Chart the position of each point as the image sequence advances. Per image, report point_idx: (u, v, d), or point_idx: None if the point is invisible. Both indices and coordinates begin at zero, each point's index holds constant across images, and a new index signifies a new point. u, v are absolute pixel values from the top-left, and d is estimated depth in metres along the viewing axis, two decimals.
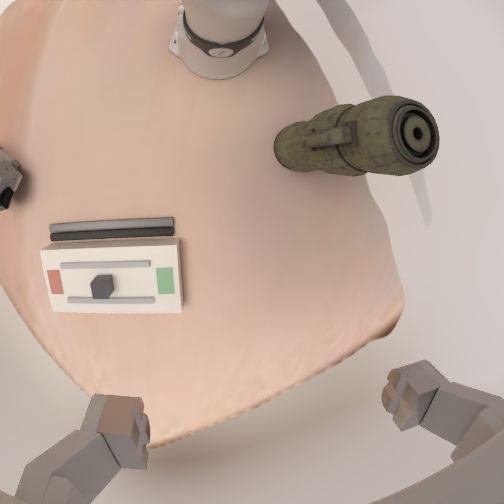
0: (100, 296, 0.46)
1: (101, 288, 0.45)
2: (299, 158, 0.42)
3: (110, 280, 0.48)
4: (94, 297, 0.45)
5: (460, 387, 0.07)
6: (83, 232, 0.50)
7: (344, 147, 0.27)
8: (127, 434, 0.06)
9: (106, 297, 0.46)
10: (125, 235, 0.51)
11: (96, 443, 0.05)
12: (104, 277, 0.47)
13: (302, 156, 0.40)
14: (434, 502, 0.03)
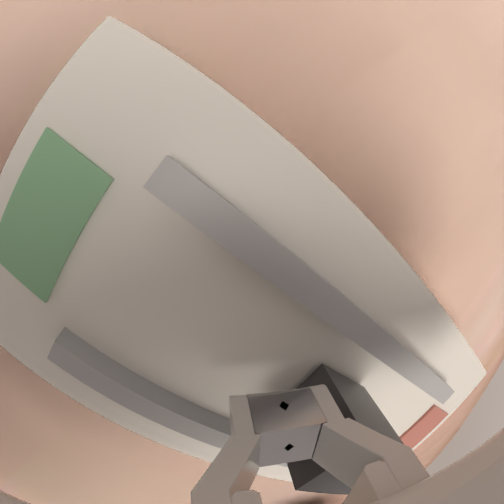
0: None
1: (335, 478, 0.07)
2: None
3: None
4: None
5: (354, 426, 0.06)
6: None
7: None
8: (289, 428, 0.06)
9: None
10: None
11: (256, 445, 0.06)
12: None
13: None
14: (434, 502, 0.03)
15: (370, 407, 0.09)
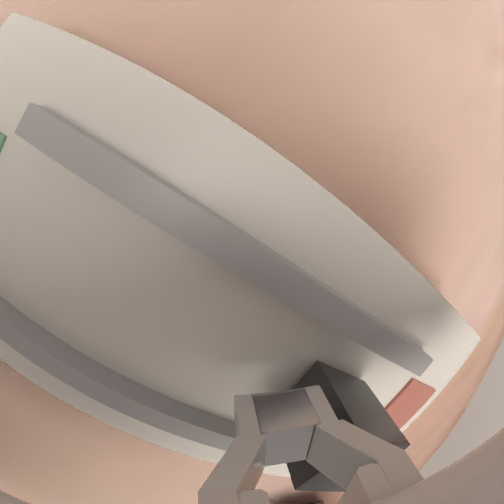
0: None
1: None
2: None
3: None
4: None
5: (348, 428, 0.06)
6: None
7: None
8: (294, 427, 0.06)
9: None
10: None
11: (262, 444, 0.06)
12: None
13: None
14: (434, 502, 0.03)
15: (369, 402, 0.09)
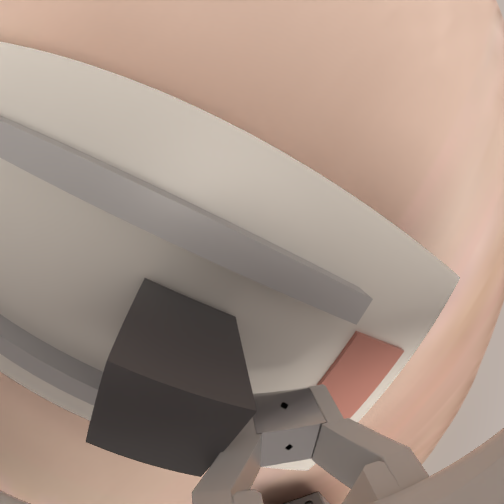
0: (168, 402, 0.05)
1: (129, 436, 0.05)
2: None
3: None
4: (233, 416, 0.05)
5: (354, 427, 0.06)
6: None
7: None
8: (289, 428, 0.06)
9: (116, 377, 0.05)
10: None
11: (257, 445, 0.06)
12: None
13: None
14: (434, 502, 0.03)
15: (208, 336, 0.07)
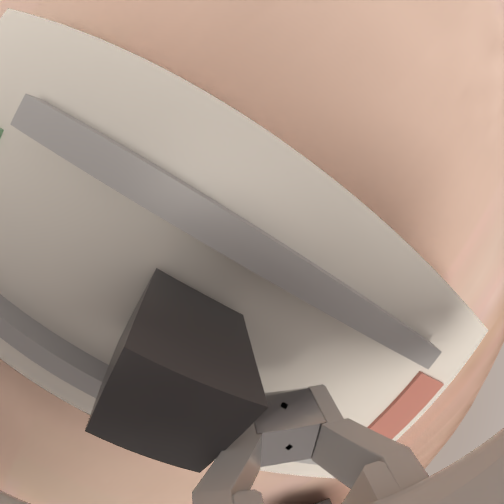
0: (181, 394, 0.05)
1: (133, 427, 0.05)
2: None
3: (117, 346, 0.07)
4: (244, 411, 0.05)
5: (353, 427, 0.06)
6: None
7: None
8: (290, 428, 0.06)
9: (131, 365, 0.05)
10: None
11: (257, 445, 0.06)
12: None
13: None
14: (434, 502, 0.03)
15: (219, 331, 0.07)
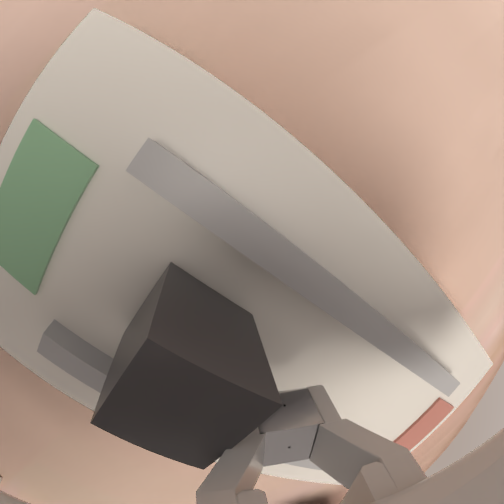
0: (199, 388, 0.05)
1: (143, 421, 0.05)
2: None
3: (124, 338, 0.07)
4: (259, 408, 0.05)
5: (351, 427, 0.06)
6: None
7: None
8: (293, 427, 0.06)
9: (152, 357, 0.05)
10: None
11: (260, 445, 0.06)
12: None
13: None
14: (434, 502, 0.03)
15: (232, 328, 0.07)
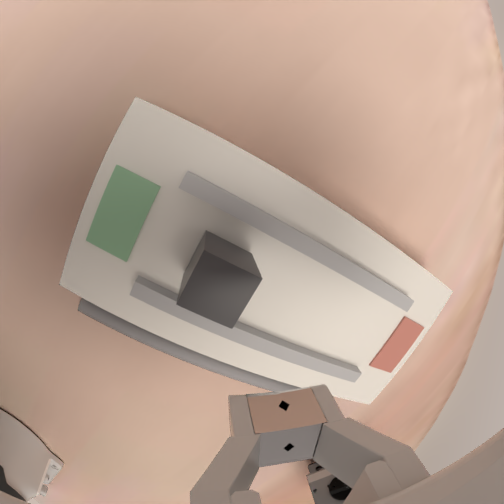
0: (225, 271, 0.13)
1: (202, 295, 0.14)
2: None
3: (186, 271, 0.16)
4: (252, 280, 0.14)
5: (355, 426, 0.06)
6: None
7: None
8: (288, 428, 0.06)
9: (205, 258, 0.13)
10: None
11: (255, 445, 0.06)
12: None
13: None
14: (434, 502, 0.03)
15: (239, 255, 0.15)
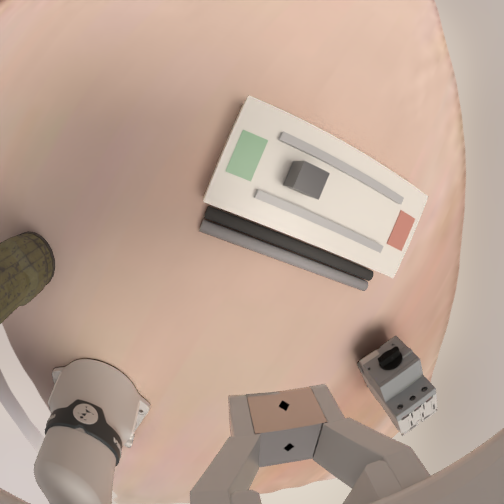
0: (314, 170, 0.28)
1: (304, 182, 0.29)
2: (6, 282, 0.24)
3: (287, 180, 0.31)
4: (325, 174, 0.29)
5: (355, 426, 0.06)
6: (327, 264, 0.40)
7: None
8: (288, 428, 0.06)
9: (305, 164, 0.28)
10: (274, 236, 0.38)
11: (255, 445, 0.06)
12: (294, 189, 0.31)
13: None
14: (434, 502, 0.03)
15: None
